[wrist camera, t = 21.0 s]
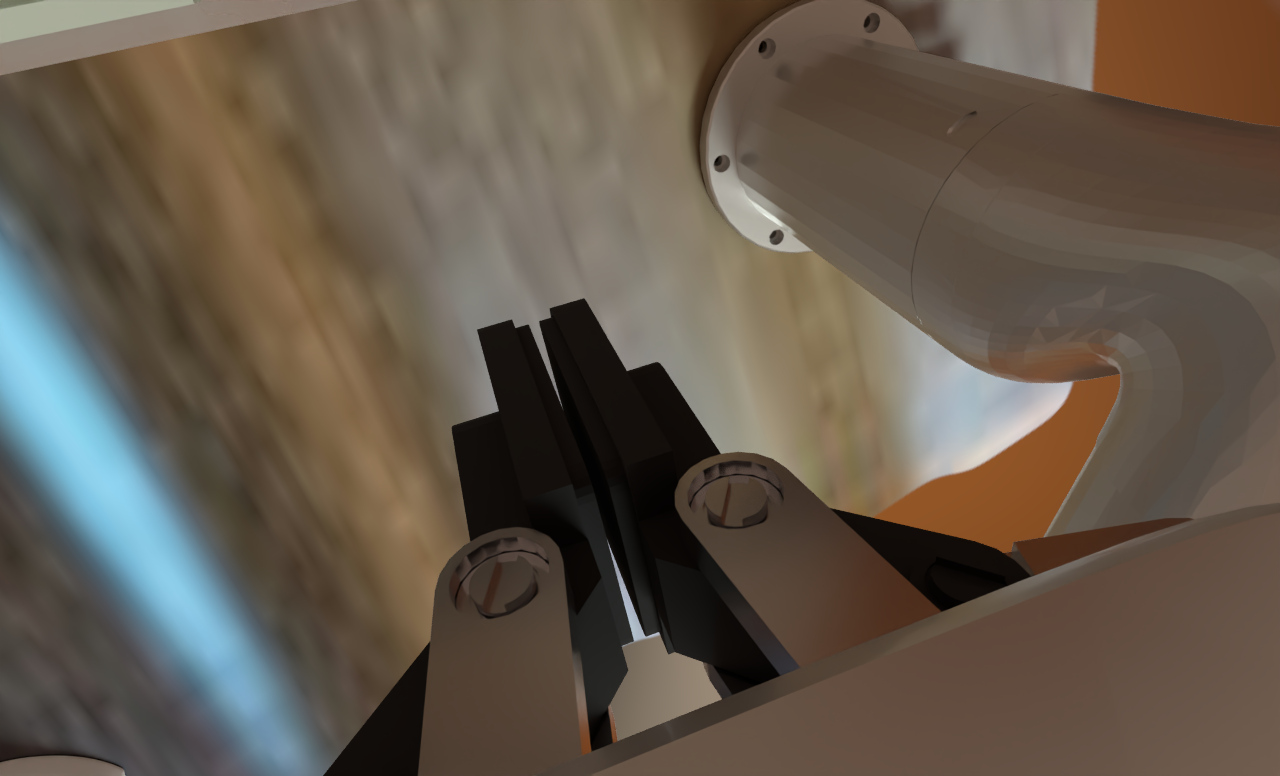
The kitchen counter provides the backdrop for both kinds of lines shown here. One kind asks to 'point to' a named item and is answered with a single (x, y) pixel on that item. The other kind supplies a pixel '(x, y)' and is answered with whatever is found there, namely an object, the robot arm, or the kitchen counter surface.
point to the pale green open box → (70, 14)
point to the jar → (58, 767)
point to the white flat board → (144, 30)
